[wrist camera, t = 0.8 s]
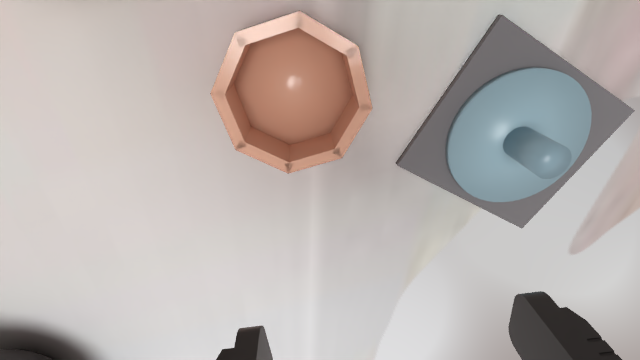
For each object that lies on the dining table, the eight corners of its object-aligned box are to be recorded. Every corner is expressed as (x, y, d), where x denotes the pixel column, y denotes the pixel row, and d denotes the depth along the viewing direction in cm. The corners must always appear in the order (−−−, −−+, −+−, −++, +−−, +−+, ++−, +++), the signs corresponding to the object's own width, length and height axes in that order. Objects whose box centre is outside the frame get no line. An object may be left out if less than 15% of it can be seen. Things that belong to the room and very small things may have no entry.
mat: (498, 14, 29) (502, 15, 29) (629, 108, 34) (634, 110, 34) (395, 163, 36) (397, 165, 35) (519, 225, 40) (522, 228, 40)
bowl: (261, -13, 28) (253, -17, 23) (382, 60, 31) (396, 69, 26) (209, 114, 32) (195, 131, 28) (320, 166, 35) (322, 189, 31)
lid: (511, 38, 30) (556, 44, 24) (613, 110, 33) (672, 129, 28) (418, 165, 35) (439, 193, 30) (515, 215, 39) (549, 248, 33)
